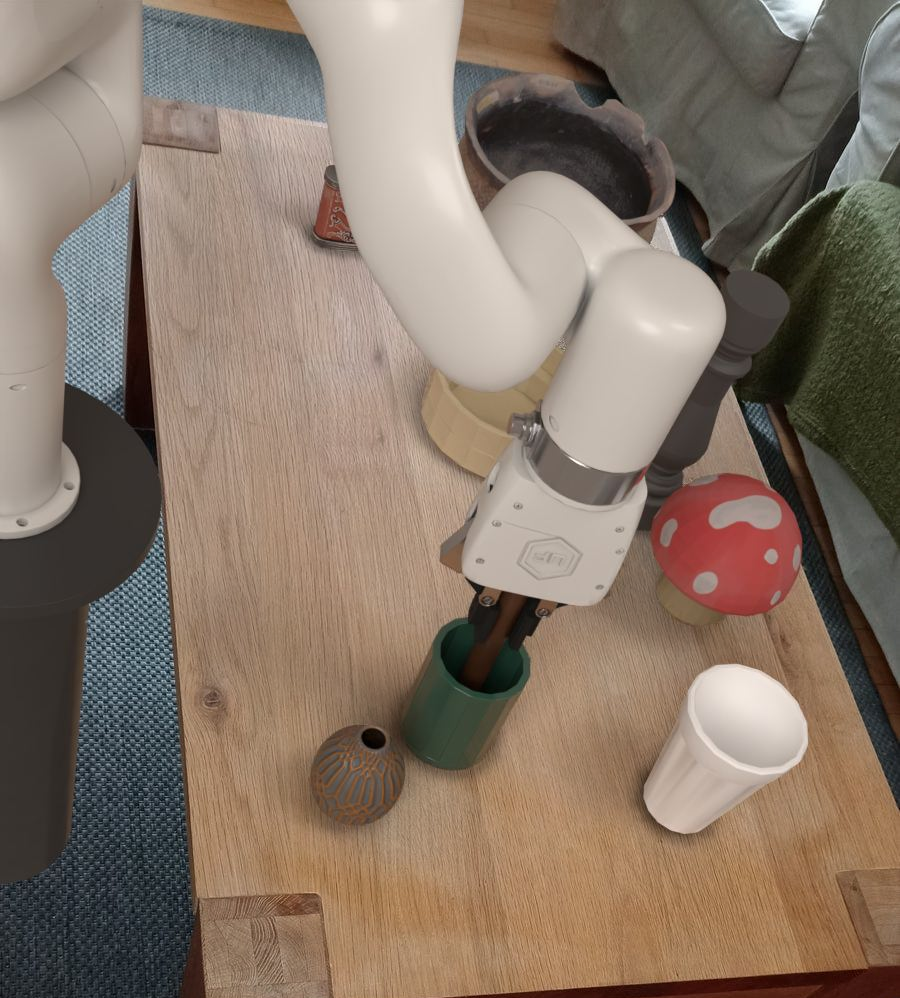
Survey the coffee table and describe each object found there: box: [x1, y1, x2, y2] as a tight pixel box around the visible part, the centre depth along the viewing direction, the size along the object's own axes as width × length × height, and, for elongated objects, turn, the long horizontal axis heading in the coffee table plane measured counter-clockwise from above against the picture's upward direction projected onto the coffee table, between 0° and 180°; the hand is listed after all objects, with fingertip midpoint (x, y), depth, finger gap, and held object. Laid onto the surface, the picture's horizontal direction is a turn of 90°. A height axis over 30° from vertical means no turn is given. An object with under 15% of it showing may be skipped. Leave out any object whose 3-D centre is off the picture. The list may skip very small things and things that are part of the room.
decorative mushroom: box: [649, 472, 803, 627], centre depth 114 cm, size 13×13×15 cm
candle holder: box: [636, 268, 791, 532], centre depth 115 cm, size 6×6×25 cm
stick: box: [456, 590, 529, 692], centre depth 97 cm, size 2×2×18 cm
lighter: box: [310, 164, 360, 253], centre depth 129 cm, size 8×3×10 cm, turn 108°
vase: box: [309, 723, 406, 827], centre depth 96 cm, size 7×7×9 cm
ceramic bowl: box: [458, 72, 676, 245], centre depth 133 cm, size 22×22×15 cm
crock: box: [399, 616, 532, 771], centre depth 101 cm, size 8×8×10 cm
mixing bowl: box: [420, 344, 565, 479], centre depth 123 cm, size 15×15×6 cm
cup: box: [642, 663, 809, 835], centre depth 103 cm, size 10×10×13 cm
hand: (496, 630), depth 95 cm, fingers closed on stick, 2 cm apart
